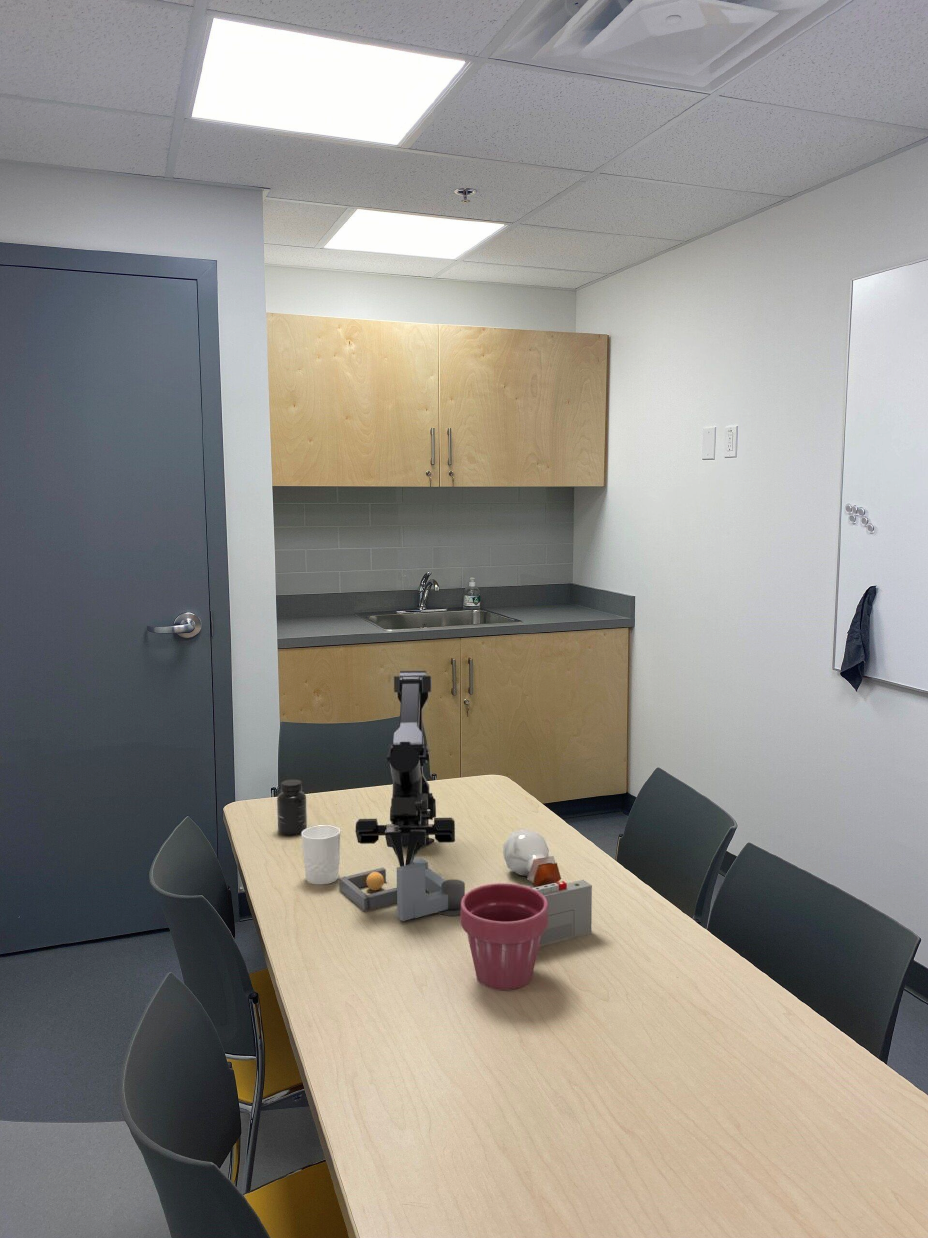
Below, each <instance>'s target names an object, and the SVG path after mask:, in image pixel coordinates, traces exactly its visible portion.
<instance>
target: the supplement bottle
mask: <svg viewBox="0 0 928 1238" xmlns="http://www.w3.org/2000/svg"><path fill="white" fill-rule="evenodd" d="M302 790H303V786H302V780H300V779H287V780H284V781H282V782H280V793H279V794H278V795H277V798H276V807H277V808H276V810H277V812H276V813H277V832H278V833H279V834H280V835H282V836H286V837H293V836H294V837H295V836H296V837H297V836H300V835H302V834H301V833H302V831H303V830H305V829H307V828H308V819H307V818H308V814H307V811H308V810H307V809H308V808H307V796H306V794H305V792H304V791H302Z"/></svg>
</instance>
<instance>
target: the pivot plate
mask: <svg viewBox="0 0 928 1238" xmlns="http://www.w3.org/2000/svg"><path fill="white" fill-rule="evenodd" d="M437 913H438V914H440V915H443V916H447V917H459V916H460V917H461V908H460V909H446V910H443V911H439V912H437Z"/></svg>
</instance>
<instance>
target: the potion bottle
mask: <svg viewBox="0 0 928 1238" xmlns="http://www.w3.org/2000/svg"><path fill="white" fill-rule="evenodd" d="M502 849H503V852H502V853H503V854H502V855H503V859H504V861H505V863H506V867H507V868H508V869H509V870H510V871H512V872H514V873H516V874H517V875H519V876H524V877H527V878H526V880H528V882H529V881H530V882H531V883H532V885H533V886H535V887H539V886H544V885H548V884H552V883H557V882H560V880H561V879H562V877H561V873H560V869H559V866H558V862H556V860H555V856H554V855H552V856H551V855H550V856H549V852H550V850H549V849H550V848H549V847H548V843H547V842H546V840H545V837H544V836H543V835H541V834H539V833H538V832H536V831H534V830H531V829H525V828H521V829H519V830H516V831H514V832H512V833H510V834H509V836H508V837H507V839H506V841H505V842H504V844H503V848H502Z"/></svg>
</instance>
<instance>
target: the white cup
mask: <svg viewBox="0 0 928 1238" xmlns="http://www.w3.org/2000/svg"><path fill="white" fill-rule="evenodd" d="M300 835H301V844H302V857H303V865H304V870H305V881H306V882H307V883H309V884H311V885H316V886H317V885H319V886H320V885H328V884H331V883H334V882H336V881H337V880H339V878H340V877H339V872H340V871H339V870H340V860H341V859H340V858H341V857H340V856H341V829H340V828H339V827H337V826H334V825H329V824H323V825H322V824H321V825H313V826H310V827H307V829H305V830H303V831H302V833H301V834H300Z"/></svg>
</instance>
